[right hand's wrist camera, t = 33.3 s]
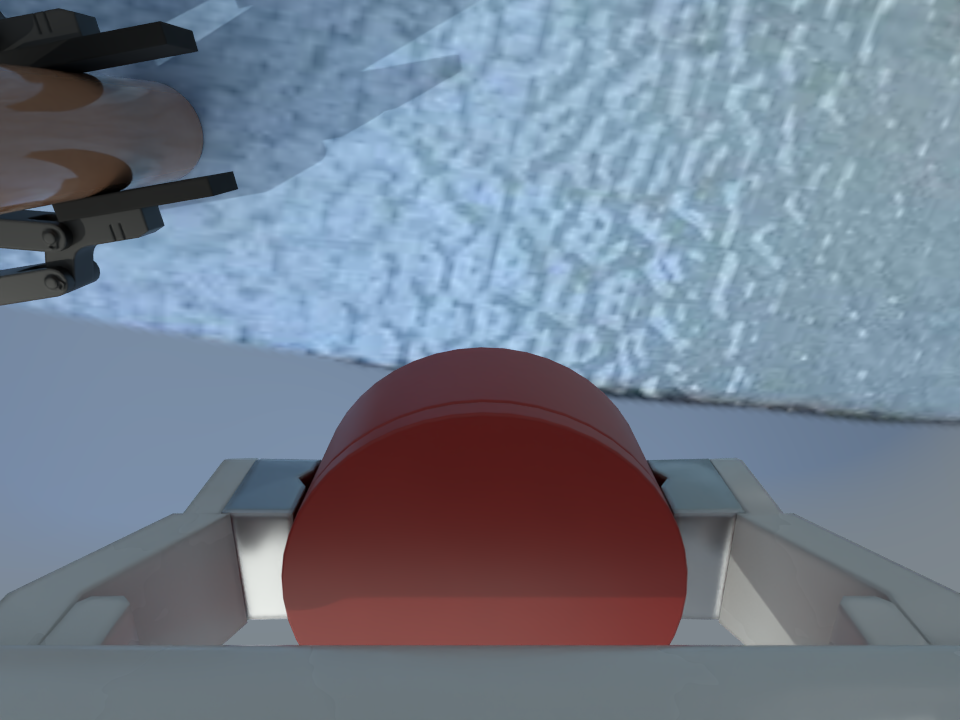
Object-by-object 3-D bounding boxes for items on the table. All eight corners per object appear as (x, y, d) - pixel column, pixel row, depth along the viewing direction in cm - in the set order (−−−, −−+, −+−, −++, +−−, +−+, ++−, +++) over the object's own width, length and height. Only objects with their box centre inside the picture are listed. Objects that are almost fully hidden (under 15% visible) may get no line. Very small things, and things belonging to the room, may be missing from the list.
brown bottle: (223, 144, 32) (-63, 170, 15) (156, 200, 33) (-181, 283, 16) (154, 59, 31) (-243, -14, 14) (87, 120, 32) (-359, 122, 15)
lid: (353, 309, 9) (314, 367, 7) (691, 390, 10) (752, 467, 8) (300, 591, 11) (256, 707, 9) (588, 647, 11) (613, 771, 9)
